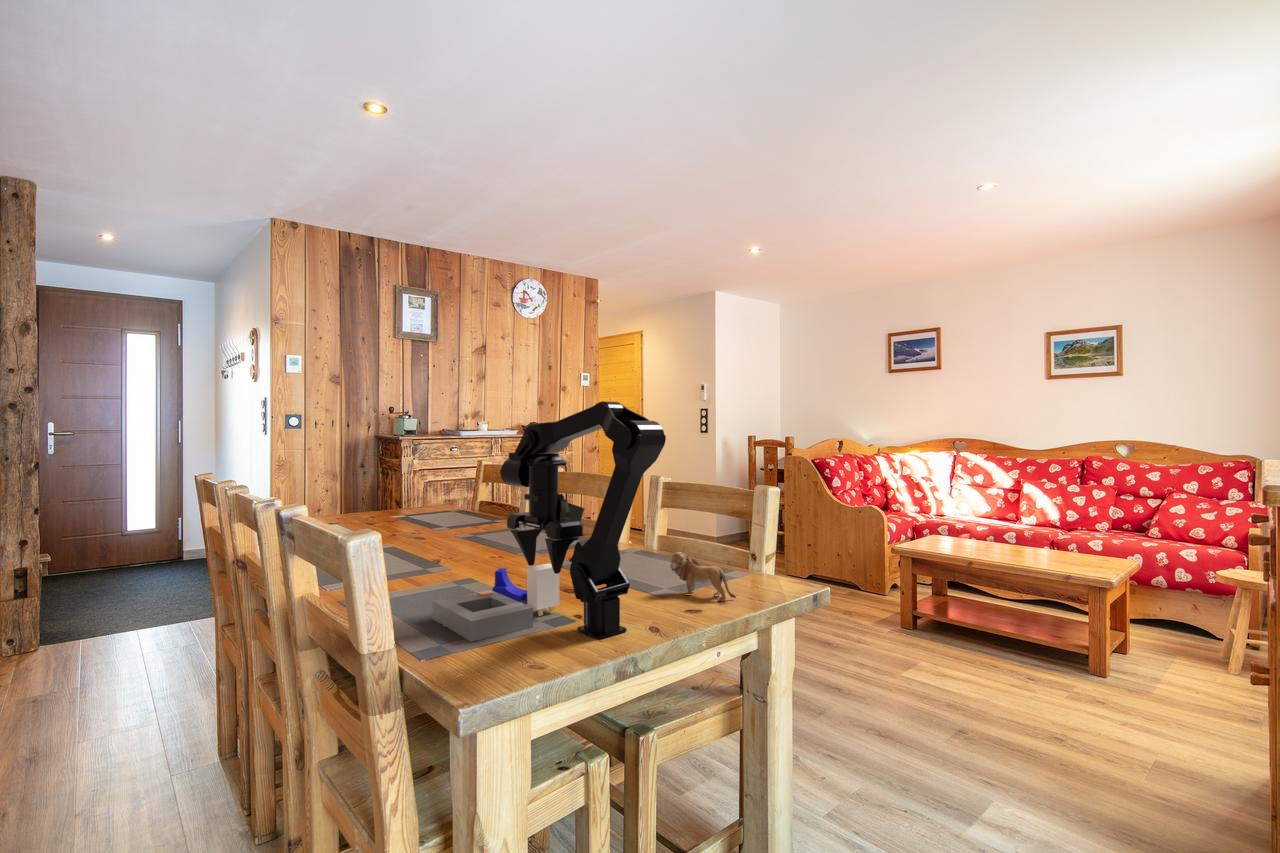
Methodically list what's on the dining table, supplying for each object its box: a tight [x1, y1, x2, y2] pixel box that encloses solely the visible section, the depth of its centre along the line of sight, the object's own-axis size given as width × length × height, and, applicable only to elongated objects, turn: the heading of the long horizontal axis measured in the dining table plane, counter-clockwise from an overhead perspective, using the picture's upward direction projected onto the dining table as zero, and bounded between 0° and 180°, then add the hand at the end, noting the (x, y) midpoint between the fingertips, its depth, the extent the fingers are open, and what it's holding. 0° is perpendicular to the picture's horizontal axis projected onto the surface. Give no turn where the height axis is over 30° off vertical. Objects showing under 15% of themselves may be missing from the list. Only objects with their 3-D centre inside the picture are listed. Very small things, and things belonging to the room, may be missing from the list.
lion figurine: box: [669, 551, 737, 602], centre depth 136 cm, size 15×5×9 cm, turn 66°
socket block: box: [432, 589, 534, 643], centre depth 117 cm, size 16×12×4 cm
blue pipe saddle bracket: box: [492, 567, 527, 603], centre depth 133 cm, size 12×4×6 cm, turn 84°
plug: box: [526, 562, 560, 617], centre depth 123 cm, size 4×5×9 cm
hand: (543, 569), depth 123 cm, fingers open, 9 cm apart
